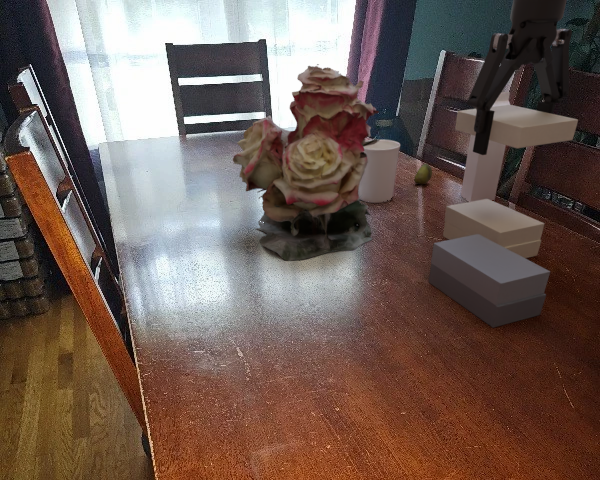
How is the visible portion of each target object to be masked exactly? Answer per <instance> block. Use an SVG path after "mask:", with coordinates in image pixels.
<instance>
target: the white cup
mask: <svg viewBox="0 0 600 480" xmlns="http://www.w3.org/2000/svg"><path fill="white" fill-rule="evenodd" d="M371 140H372V139H368V140H365V142H368V141H369V142H370V141H371ZM378 140H379V139H378ZM400 149H401V143H400V142H398V141H395V140H393V139H392V140H391V139H380V140H379V141H378V142H377V143H375V144H372V145H368V146H364V150H365V151H363V152H364V153H365V154H367V158H368V163H367V166H366V168H365V172H364V174H363V176H362V179H361V182H360V185H359V190H358V192H359V197H360V196H361V195H362V196H361V197H360V198H359V200H360V201H362V202H364V203H370V204H381V203H387V202H390V201H391V200H392V199H393V198H392V197H394V193H395V192H394V191H395V185H396V179H397V170H398V163H399V155H400ZM391 198H392V199H391ZM387 200H388V201H387ZM368 201H369V202H368ZM383 201H384V202H383Z"/></svg>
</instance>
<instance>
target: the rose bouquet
mask: <svg viewBox="0 0 600 480" xmlns="http://www.w3.org/2000/svg"><path fill="white" fill-rule="evenodd" d="M319 65H320V64H318V63H317V64H316V65H315V66H312V65H308V66H307V68H306V69H305V70H304V71H303V72H301V73H298V75H297V81H299V82H300V83H301V87H300V89H299V90H298V91H292V92H291V95H292V98H293V100H292V101H291V102H290V104H289V110H290V111H291V114H292V116H293V118H294V120H295V122H296V126H295V129H294V130H288V129H284V128H282V127H280V126H278V124H276V123H275V122H274V120H273V119H272V116H271V115H268V116H266V117H262V118H260V119H258V120H256V121H254V122H252V125H251V126H249V127H248V128H246V129H245V130H244V133H243V139H241V140H239V141H237V142H236V144H237V145H238V146H239V148H240V149H241V150H242V151H241V152H238V153H236V154H234V155H233V157H232V162H233V164H234V165H240V166H241V168H240V172H239V175H238V176H239V178H241V182H242V183H244V184H246V186H245V187H246V188H245V192H250V191H253V190H259V191H257V193H260V192H263V191H265V192H263V193H262V195H260V196H259V197H258V199H259V200H260V199H261V198H262V201H261V204H262V206H261V207H262V211H263V215H262V216H261V217H260V219H259V220H258V221H257V222H258V225H259V227H255V229H256V230H260V231H262V232H264V233H265V234H266V235H264V236H262V237H261V238H259V239H258V241H259V243H260V245H261V246H262V247H264V248H267V249H268V250H271V251H272V252H274V253H276V254H278V255H279V257H280V258H281V259H282V260H284V261H296V260H297V261H299V260H305V259H306V260H307V259H310V258H314V257H317V256H321V255H323V254H327V253H331V252H339V251H354V250H356V249H357V248H358V247H360V246H361V245H363V244H365V243H368V242H370V241H372V240H373V238H372V228H371V227H370V225H369V222H368V220H367V219H368V218H367V216H370V217H371V216H372V215H371V213H370V212H369V210H368V208H369V206H368V204H364V203H361V200H360V199H359V198H360V197H361V196H362V195H361V196H360V197H359V192H358V190H359V185H360V182H361V179H362V176H363V174H364V172H365V168H366V166H367V163H368V158H367V154H365V153H364V152H363V151H365V150H364V146H368V145H372V144H375V143H377V142H378V141H379V140H381V139H380V138H379V139H378V138H377V139H370V140H371V141H370V142H369V141H368V142H365V141H366V139H367V138H368V137H371V136H372V135H371V129H372V126H371V125H369V124H368V123H367V121H368V120H369V118H370V117H374V116H375V114H379V113H380V111H379V110H377V108H376V107H375V106H373V105H372V103H371V102H370V103H365V102H364V101H362V100H361V99H358V96H359V95H358V94H359V90H360V89H362V88H363V86H364V82H365V81H364V80H359V81H358V82H357V83H356V84H355V85H354V84H353V83H352V82H351V81H350V79H351V77H348V76H346V75H343V74H342V73H340V71H339V70H335V69H333V68H331V67H323V68H322V67H319ZM260 221H261V222H260ZM263 222H264V223H263Z"/></svg>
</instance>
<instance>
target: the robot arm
mask: <svg viewBox="0 0 600 480" xmlns="http://www.w3.org/2000/svg"><path fill="white" fill-rule="evenodd" d="M567 1H568V0H512V5H511V10H510V16H509V19H510V22H511V26H510V29H509V31H508V33H499V32H494V33H493V34H492V35H491V37H490V42H489V48H488V52H487V54H486V56H485V59H484V62H483V64H482V66H481V68H480V69H479V70H480V71H479V73H478V75H477V77H476V80H475V82H474V84H473V86H472V89H471V92H470V94H469V96H468V98H467V101H466V102H467V105H468V106H470V107H471V108H472V109H475V108H476V110H477V113H476V119H475V125H474V131H475V132H476V135H475V141H474V147H473V152H475V153H478V154H481V155H486V154H487V149H488V144H489V138H490V133H491V127H492V122H493V117H494V112H495V111H492V110H490V109H491V107H492V106H493V104H494V103H495V101H496V100H497V98H498V97H499V95H500V94H501V93H502V92H504V89H505V88H506V86H507V84H508V83H509V81H510V80H511V78H512V76H513V75H514V74H515V72H516V71H518V70H519V69H521V66H526V65H529V64H532V66H533V67H534V70H535V73H536V77H537V81H538V84H539V85H538V86H539V89H540V92H541V96H542V100H543V101H538V102H537V105H536V110H537V111H541V112H546V113H550V114H554V112H555V111H554V110H555V107H556V104H561V103H562V101H563V100H564V98H566V97H568V96H569V92H570V43H571V39H572V36H573V31H572V29H571V28H557V27H558V22H560V21H561V20H562V19H563V17H564V14H565V10H566V5H567ZM535 147H544V144H543V145H536V146H535Z"/></svg>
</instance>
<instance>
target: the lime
mask: <svg viewBox="0 0 600 480" xmlns="http://www.w3.org/2000/svg"><path fill="white" fill-rule="evenodd" d="M432 176H433V169H432V167H431V165H429V164H428V163H423V164H422V165H421V166H420V167H419V168H418V170H417V172H416V174H415V176H414V180H413V182H414V183H415V184H417V185H425V184H427V183H428V182H429V181H431V179H432Z"/></svg>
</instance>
